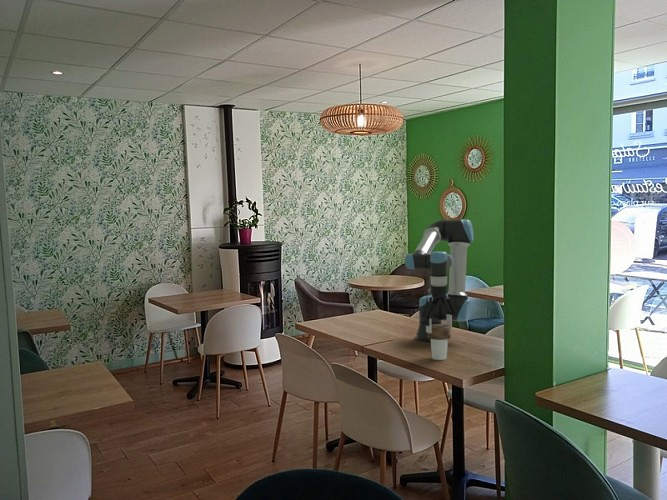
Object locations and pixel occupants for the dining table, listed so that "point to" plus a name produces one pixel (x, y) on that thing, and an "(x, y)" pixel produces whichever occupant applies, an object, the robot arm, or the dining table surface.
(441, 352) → the white cup
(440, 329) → the walnut lid
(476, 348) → the dining table surface
